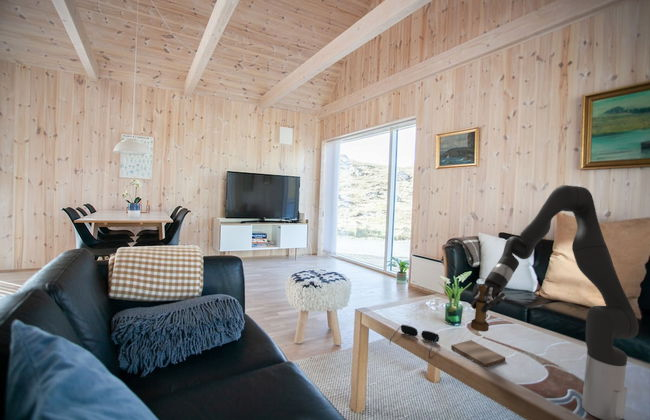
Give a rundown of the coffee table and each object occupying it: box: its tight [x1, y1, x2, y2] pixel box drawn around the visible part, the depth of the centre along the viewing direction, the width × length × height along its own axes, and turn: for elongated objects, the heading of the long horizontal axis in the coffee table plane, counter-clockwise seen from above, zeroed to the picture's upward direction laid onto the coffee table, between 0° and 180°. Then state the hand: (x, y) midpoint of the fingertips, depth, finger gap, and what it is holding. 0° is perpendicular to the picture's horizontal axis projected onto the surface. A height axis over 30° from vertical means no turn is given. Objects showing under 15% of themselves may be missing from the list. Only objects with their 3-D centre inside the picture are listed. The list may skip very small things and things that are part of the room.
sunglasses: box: [389, 324, 440, 357], centre depth 143 cm, size 17×15×5 cm
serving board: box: [450, 339, 506, 368], centre depth 135 cm, size 16×12×2 cm
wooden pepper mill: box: [470, 283, 490, 333], centre depth 134 cm, size 7×6×18 cm
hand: (477, 309), depth 133 cm, fingers closed on wooden pepper mill, 4 cm apart
